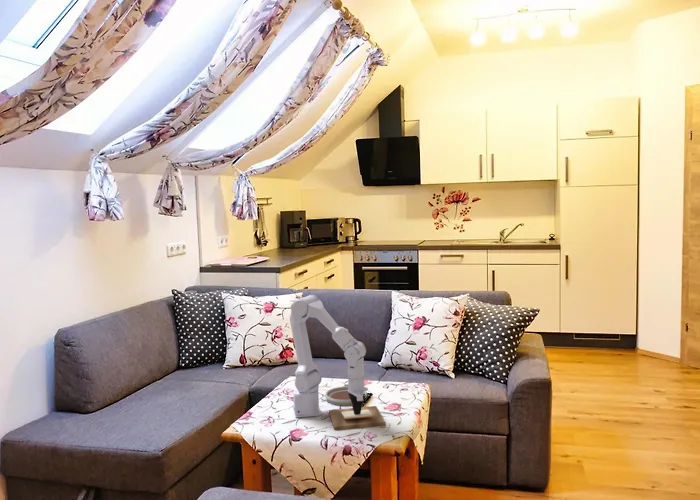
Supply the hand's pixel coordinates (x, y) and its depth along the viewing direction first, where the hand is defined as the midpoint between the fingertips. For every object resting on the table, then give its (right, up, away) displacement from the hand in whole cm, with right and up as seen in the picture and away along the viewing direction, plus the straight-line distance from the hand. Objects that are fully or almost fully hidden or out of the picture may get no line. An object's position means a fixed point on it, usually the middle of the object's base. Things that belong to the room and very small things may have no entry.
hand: (357, 413), depth 218 cm
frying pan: (-3, 0, +30) cm, 30 cm away
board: (0, -3, +3) cm, 4 cm away
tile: (0, 0, +2) cm, 2 cm away
